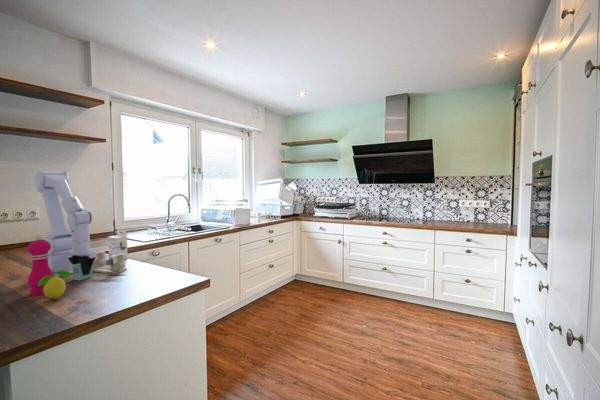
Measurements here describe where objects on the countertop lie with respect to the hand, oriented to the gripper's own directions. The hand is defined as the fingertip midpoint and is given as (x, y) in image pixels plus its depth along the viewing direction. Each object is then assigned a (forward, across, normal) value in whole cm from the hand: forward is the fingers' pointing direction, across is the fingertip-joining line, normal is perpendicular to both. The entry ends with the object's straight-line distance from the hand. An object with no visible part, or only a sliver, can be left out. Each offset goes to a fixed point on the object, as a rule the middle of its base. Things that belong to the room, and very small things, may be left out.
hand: (82, 274), depth 115 cm
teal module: (+2, 0, 0) cm, 2 cm away
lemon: (+2, -15, +17) cm, 23 cm away
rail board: (+2, 0, -10) cm, 11 cm away
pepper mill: (+2, -3, +15) cm, 15 cm away
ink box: (+2, +15, -25) cm, 29 cm away
